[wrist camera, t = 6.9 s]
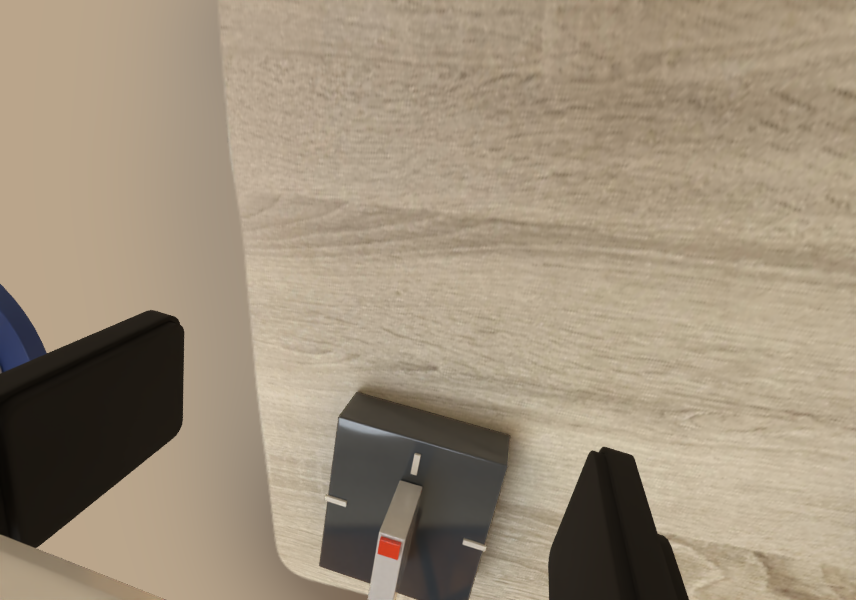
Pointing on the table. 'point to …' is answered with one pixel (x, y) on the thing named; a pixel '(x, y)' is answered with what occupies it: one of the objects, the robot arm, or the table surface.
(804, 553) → the table surface
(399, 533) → the tap lever
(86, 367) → the robot arm
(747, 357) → the table surface
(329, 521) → the base
